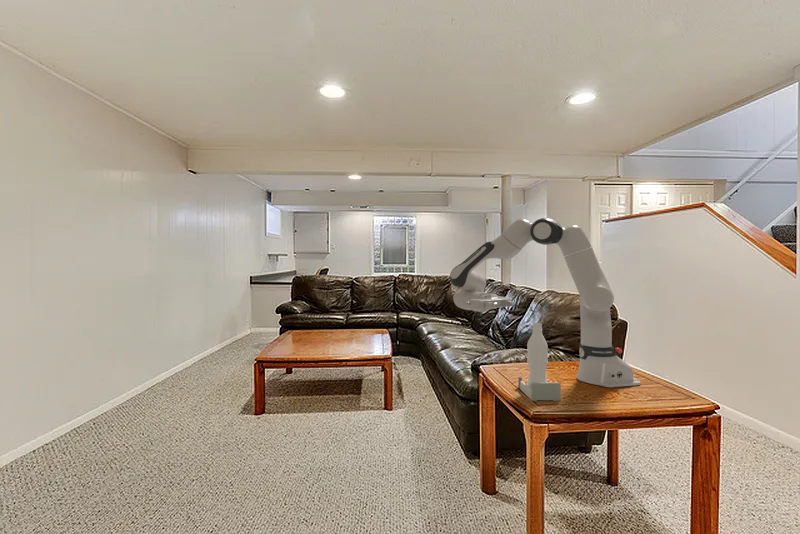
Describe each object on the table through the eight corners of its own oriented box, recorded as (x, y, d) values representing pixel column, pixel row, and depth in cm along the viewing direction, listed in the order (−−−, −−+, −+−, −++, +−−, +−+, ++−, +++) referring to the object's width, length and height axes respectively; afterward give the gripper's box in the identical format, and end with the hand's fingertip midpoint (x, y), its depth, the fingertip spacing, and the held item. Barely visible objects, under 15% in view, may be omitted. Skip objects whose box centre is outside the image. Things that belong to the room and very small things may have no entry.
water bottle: (528, 394, 133) (528, 324, 133) (525, 387, 140) (525, 321, 140) (549, 395, 132) (549, 325, 131) (545, 388, 139) (545, 322, 138)
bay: (544, 387, 141) (544, 371, 141) (560, 400, 127) (560, 383, 127) (518, 387, 141) (518, 371, 141) (532, 400, 127) (532, 383, 126)
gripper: (462, 295, 160) (485, 298, 148) (497, 293, 171) (520, 296, 159) (462, 310, 160) (485, 314, 148) (497, 307, 171) (520, 310, 159)
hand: (503, 304), depth 154 cm, fingers open, 8 cm apart
